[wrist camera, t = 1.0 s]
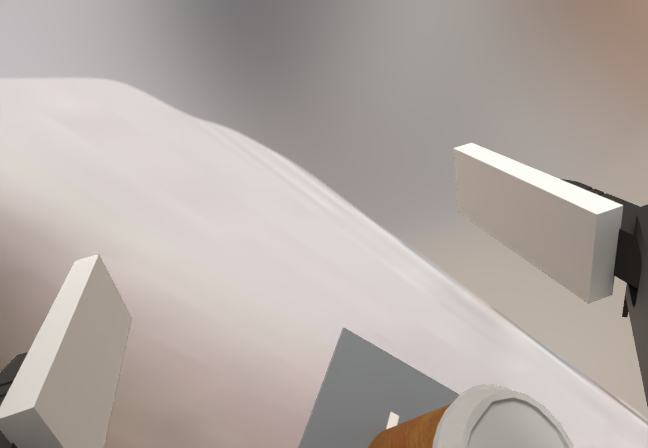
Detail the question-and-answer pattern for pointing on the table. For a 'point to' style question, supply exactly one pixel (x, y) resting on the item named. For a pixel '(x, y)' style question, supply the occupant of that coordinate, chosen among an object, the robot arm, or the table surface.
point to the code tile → (368, 396)
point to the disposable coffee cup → (480, 424)
